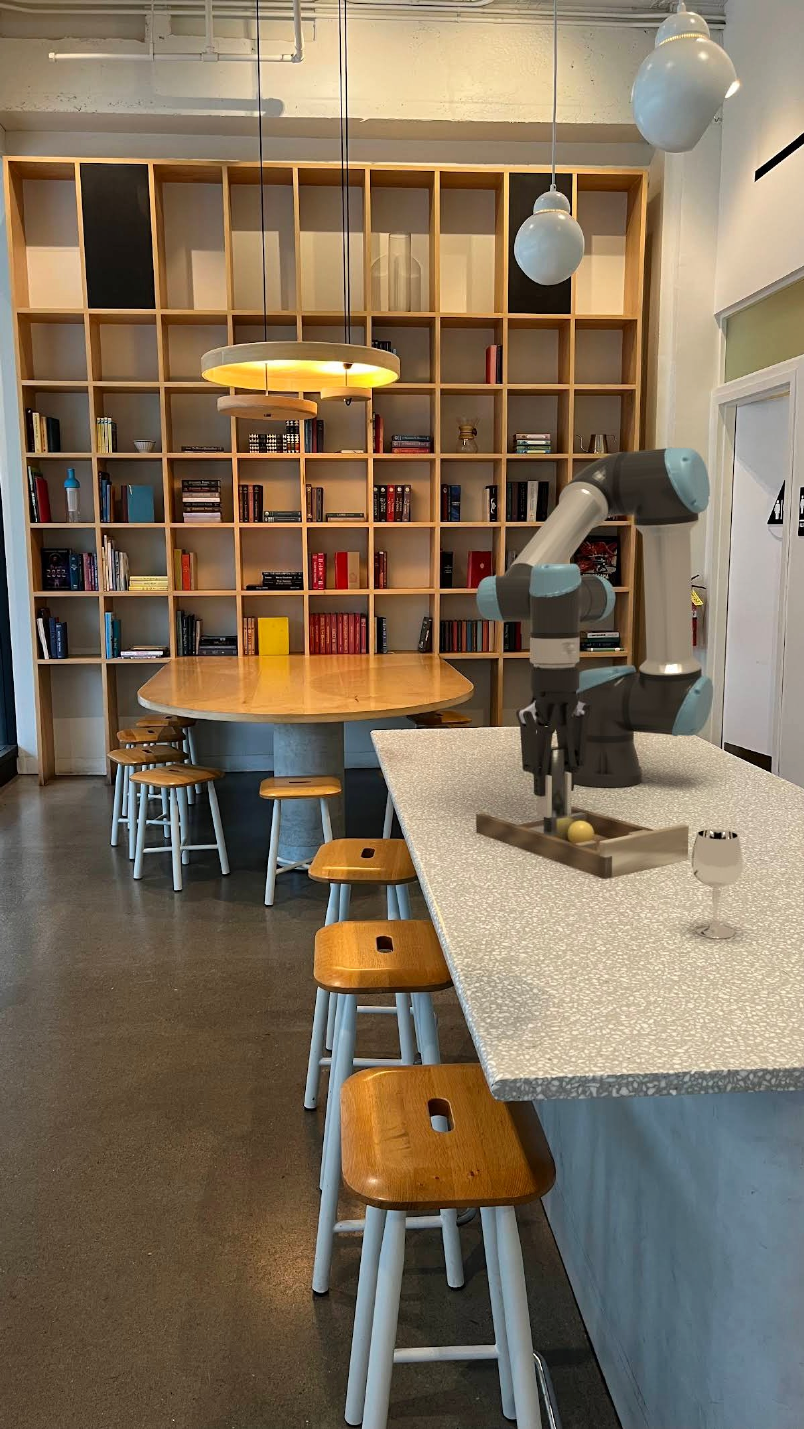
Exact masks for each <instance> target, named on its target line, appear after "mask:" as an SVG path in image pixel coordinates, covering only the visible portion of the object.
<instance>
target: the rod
mask: <svg viewBox="0 0 804 1429" xmlns="http://www.w3.org/2000/svg"><path fill="white" fill-rule="evenodd" d="M564 774H565V748H563V747H558V746H551V751H550V759H549V766H548V773H547V775H549V776H552V817H550V818H546V817H543V820H544V825H543V826H538V827H533V828H529V829H532V830H535V831H538V832H541V833H544V834H547V835H550V836H553V837H556V838H559V839H562V840H565V841H568V842H570V841H569V839H568V829H569V827H570V825H571V824H573V823H574V822H576V821H585V822H586V818H587V814H586V813H582V812H580V813H574V814H569V815H564Z"/></svg>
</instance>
